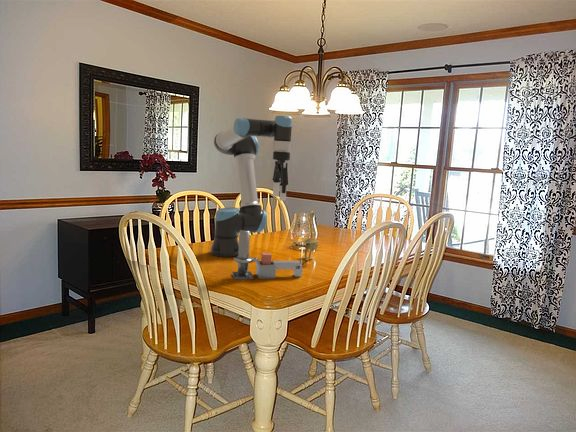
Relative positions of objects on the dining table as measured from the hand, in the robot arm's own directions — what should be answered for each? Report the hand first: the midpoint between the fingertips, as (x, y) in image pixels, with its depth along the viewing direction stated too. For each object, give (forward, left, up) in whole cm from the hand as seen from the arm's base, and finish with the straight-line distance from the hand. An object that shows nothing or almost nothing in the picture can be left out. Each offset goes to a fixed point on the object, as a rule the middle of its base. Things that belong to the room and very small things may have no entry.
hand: (279, 198), depth 204 cm
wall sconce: (-14, +20, -33) cm, 41 cm away
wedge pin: (+12, -7, -33) cm, 36 cm away
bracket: (+12, -1, -33) cm, 35 cm away
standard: (+12, -16, -33) cm, 38 cm away
